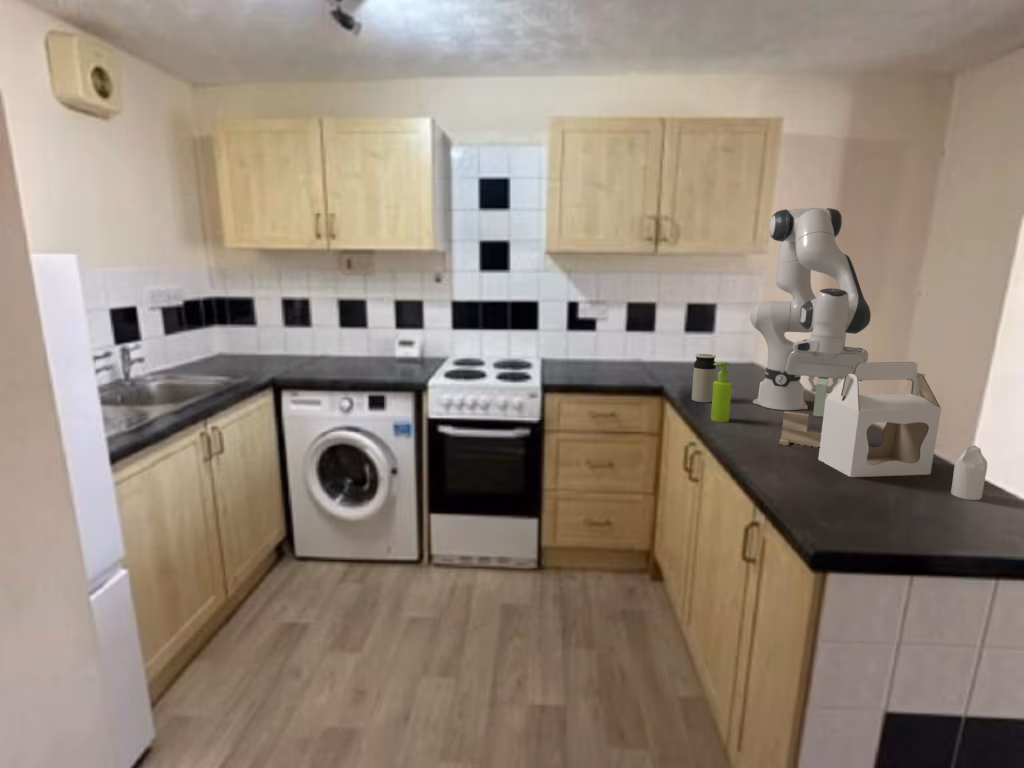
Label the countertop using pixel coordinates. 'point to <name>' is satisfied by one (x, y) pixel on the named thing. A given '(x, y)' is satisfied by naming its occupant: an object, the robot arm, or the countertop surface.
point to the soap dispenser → (721, 395)
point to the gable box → (905, 414)
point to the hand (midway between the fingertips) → (821, 392)
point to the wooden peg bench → (798, 430)
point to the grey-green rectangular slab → (820, 396)
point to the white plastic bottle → (969, 474)
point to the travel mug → (703, 378)
